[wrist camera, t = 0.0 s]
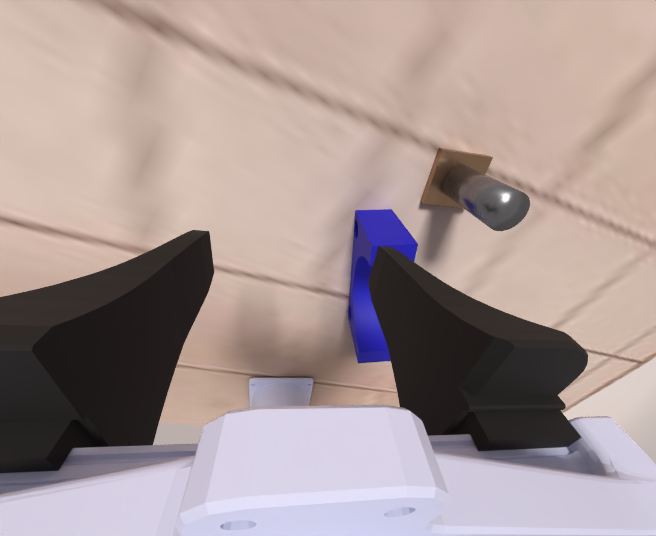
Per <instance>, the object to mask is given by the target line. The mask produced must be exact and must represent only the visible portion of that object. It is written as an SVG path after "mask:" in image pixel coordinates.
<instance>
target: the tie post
mask: <svg viewBox="0 0 656 536" xmlns="http://www.w3.org/2000/svg"><path fill="white" fill-rule="evenodd" d="M492 158H493V157H491V156H487V155H481V154H474V153H468V152H461V151H454V150H448V149H441V148H439V150H438V153H437V156H436V159H435V162H434V164H433V167H432V170H431V173H430V176H429V179H428V182H427V184H426V187H425V190H424V193H423V196H422V199H421V202H422V203H423V204H430V205H439V206H448V207H456V208H464V209H465V210H467V211H468V212H470V213H471V214H472V215H474V216H475V217H476V218H478V219H479V220H480V221H482V222H483V223H484V224H486V225H487V226H489V227H490V228H491V229H493V230H495V231H504V230H508V229H510V228H512V227H514V226H516V225H517V224H518V223H519V222H521V220H522V219H523V218H524V217H525V216H526V214H527V212H528V210H529V206H530V200H529V197H528V196H527V195H526V194H525V193H523V192H521V191H519V190H517V189H514V188H512V187H510V186H508V185H506V184H504V183H502V182H500V181H497V180H495V179H493V178H491V177H489V176H487V175H485V173H486V171H487V169H488V167H489V165H490V163H491V160H492Z"/></svg>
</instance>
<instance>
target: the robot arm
mask: <svg viewBox="0 0 656 536" xmlns="http://www.w3.org/2000/svg"><path fill="white" fill-rule="evenodd" d="M213 275H214V268H213V259H212V251H211V242H210V234H209V231H199V230H192V231H189V232H187V233H185V234H183V235H181V236H179V237H177V238H175V239H173V240H171V241H169V242H167V243H165V244H163V245H161V246H159V247H157V248H155V249H153V250H151V251H149V252H146V253H144V254H142V255H140V256H138V257H135V258H133V259H131V260H129V261H126V262H124V263H121V264H119V265H116V266H114V267H111V268H108V269H105V270H102V271H100V272H97V273H94V274H91V275H87V276H84V277H80V278H77V279H73V280H70V281H67V282H63V283H60V284H56V285H52V286H48V287H44V288H40V289H36V290H32V291H27V292H23V293H18V294H13V295H9V296H4V297H0V536H656V464H655V463H654V462H653V461H652V460H651V459H650V458H649V457H648V456H647V455H646V454H645V452H643V450H642V449H641V448H640V447H639V446H638V445H637V444H636V443H635V442H634V441H633V440H632V439H631V438H630V437H629V436H628V435H627V433H626V432H625V431H624V430H623V429H622V428H621V427H620V426H619V425H618V424H617V423H616V422H615V421H614V420H613V419H612V418H611V417H607V416H604V417H603V416H602V417H578V418H574V419H572V420H569V421H568V420H567V418H566V417H565V416H564V415H563V413H562V412H561V411H560V410H563V409H565V408H566V407H565V404H564V403H563V401H562V400H561V399H560V398H559V397H558V394H559V393H560V392H561V391H563V390H564V389H565V388H566V387H567V386H568V385H569V384H571V383H572V382H573V381H574V380H575V379H576V378H577V377H578V376H579V375H580V374H581V373H582V372H583V371H584V369H585V367H586V365H587V362H588V354H587V353H586V351H585V350H584V349H583V348H582V347H581V346H580V345H579V344H578V343H577V342H576V341H575V340H573V339H572V338H571V337H570V336H569V335H568V334H566V333H564V332H562V331H558V330H555V329H552V328H549V327H546V326H542V325H539V324H536V323H533V322H530V321H527V320H524V319H521V318H518V317H516V316H513V315H510V314H508V313H505V312H503V311H500V310H498V309H495V308H493V307H491V306H488V305H486V304H484V303H482V302H480V301H477V300H475V299H473V298H471V297H469V296H467V295H465V294H463V293H462V292H460V291H458V290H456V289H454V288H452V287H451V286H449V285H447V284H446V283H444V282H442V281H441V280H439V279H438V278H436V277H435V276H433V275H432V274H430V273H429V272H427V271H426V270H424V269H423V268H421V267H420V266H419V265H417V264H416V263H414V262H413V261H412V260H410V259H409V258H408V257H406V256H405V255H403V254H402V253H401V252H399V251H398V250H396V249H394V248H393V247H387V246H378V249H377V253H376V256H375V260H374V263H373V267H372V270H371V274H370V277H369V280H368V285H369V291H370V296H371V300H372V303H373V306H374V309H375V312H376V315H377V318H378V321H379V323H380V326H381V329H382V332H383V335H384V338H385V340H386V344H387V347H388V350H389V355H390V359H391V363H392V368H393V372H394V377H395V382H396V387H397V392H398V398H399V403H400V407H395V406H388V405H331V406H309V403H310V397H311V392H312V387H313V379H312V378H250V379H249V402H250V408H245V409H239V410H232V411H229V412H227V413H225V414H223V415H222V416H220V417H218V418H216V419H214V420H213V421H211V422H209V423H208V424H206V425H205V426H204V428H203V431H202V434H201V437H200V440H199V443H198V444H174V445H153V442H154V438H155V434H156V430H157V427H158V423H159V420H160V416H161V413H162V409H163V406H164V403H165V399H166V396H167V392H168V389H169V386H170V383H171V380H172V377H173V374H174V371H175V368H176V365H177V362H178V359H179V356H180V353H181V350H182V347H183V345H184V342H185V340H186V338H187V335H188V333H189V331H190V329H191V327H192V325H193V323H194V321H195V319H196V317H197V315H198V313H199V311H200V308H201V306H202V304H203V302H204V300H205V298H206V296H207V294H208V291H209V288H210V285H211V282H212V278H213Z"/></svg>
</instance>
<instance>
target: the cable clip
mask: <svg viewBox="0 0 656 536" xmlns="http://www.w3.org/2000/svg"><path fill="white" fill-rule="evenodd" d="M378 246H387V247H393V248H394V249H396V250H398V251H399V252H401V253H402V254H403V255H405V256H406V257H408V258H409V259H410V260H412V261H413V262H414V259H415V255H416V251H417V246H418V244H417V242H416V241H415V240H414V238H413V237H412V236H411V234H410V233H409V232H408V230H407V229H406V228H405V226H404V225H403V224H402V222H401V221H400V220H399V219H398V217H397V216H396V215H395V213H394V212H393V211H392V209H389V210H356V212H355V226H354V240H353V254H352V268H351V282H350V296H349V310H348V319H349V323H350V328H351V332H352V337H353V342H354V346H355V351H356V356H357V360H358V363H367V362H381V361H391V359H390V355H389V350H388V347H387V344H386V340H385V338H384V335H383V332H382V329H381V326H380V323H379V321H378V318H377V315H376V312H375V309H374V306H373V303H372V300H371V296H370V291H369V285H368V280H369V277H370V274H371V270H372V267H373V263H374V260H375V256H376V253H377V249H378Z"/></svg>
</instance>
